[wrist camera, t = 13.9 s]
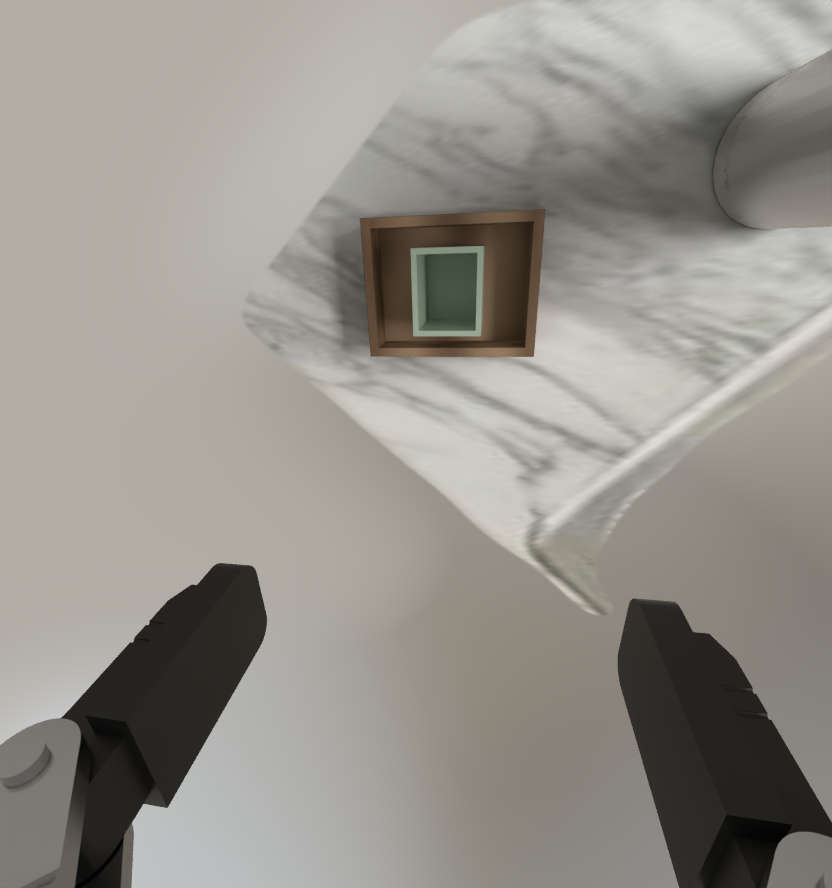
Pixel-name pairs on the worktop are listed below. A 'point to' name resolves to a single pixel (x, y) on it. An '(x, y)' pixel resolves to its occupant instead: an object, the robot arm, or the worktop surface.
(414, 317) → the small crate
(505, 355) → the big crate
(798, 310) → the worktop surface
